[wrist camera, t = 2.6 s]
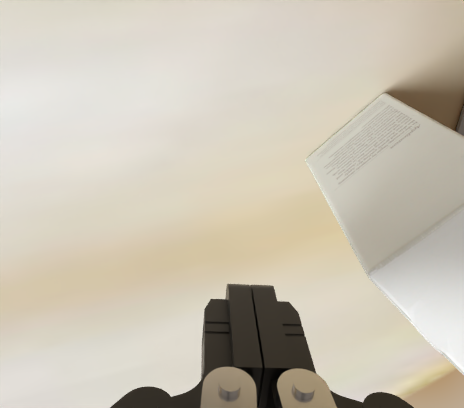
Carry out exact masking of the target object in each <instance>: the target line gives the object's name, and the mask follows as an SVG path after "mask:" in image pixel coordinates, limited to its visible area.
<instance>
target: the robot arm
mask: <svg viewBox="0 0 464 408" xmlns="http://www.w3.org/2000/svg"><path fill="white" fill-rule="evenodd" d="M110 408H414V407H412V406H411V405H410V404H408V403H407V402H405V401H404V400H402V399H401V398H399V397H397V396H395V395H392V394H389V393H384V392H377V393H372V394H370V395H368V396H367V397H366V398H365V400H364V402H363V403H362V402H359V401H356V400H352V399H349V398H346V397H343V396H340V395H338V394H336V393H334V392H332V391H331V390H330V389H329V387H328V385H327V384H326V382H325V381H324V380H323V379H322V378H321V377H320V376H319V375H317V374H316V371H315V368H314V365H313V361H312V358H311V354H310V351H309V348H308V344H307V341H306V337H305V336H304V331H303V327H302V324H301V321H300V317H299V314H298V312H297V311H296V310H295V308H294V307H293V306H292V305H291V304H290V303H289V302H280V301H277V299H276V295H275V290H274V287H273V286H267V285H241V284H227V289H226V299H225V300H224V299H211V300H210V302H209V303H208V305H207V306H206V308H205V311H204V324H203V338H202V373H201V381H200V382H199V384H198V385H197V386H196V387H195V388H193V389H192V390H190V391H188V392H186V393H183V394H180V395H177V396H173V397H171V396H170V395H169V394H168V393H167V392H165V391H164V390H162V389H159V388H156V387H141V388H137V389H134V390H132V391H130V392H129V393H127V394H126V395H125V396H124V397H122V398H121V399H120V400H119V401H118V402H116V403H115V404H114V405H113V406H112V407H110Z"/></svg>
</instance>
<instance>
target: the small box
mask: <svg viewBox="0 0 464 408" xmlns="http://www.w3.org/2000/svg"><path fill="white" fill-rule="evenodd" d="M305 162H306V163H307V165H308V167H309V169H310V171H311V172H312V174H313V176H314V178H315V180H316V182H317V183H318V185H319V187H320V189H321V191H322V193H323V195H324V197H325V199H326V201H327V203H328V204H329V206H330V208H331V210H332V212H333V213H334V215H335V217H336V219H337V221H338V223H339V225H340V226H341V228H342V230H343V232H344V234H345V236H346V237H347V239H348V241H349V243H350V245H351V247H352V249H353V251H354V253H355V254H356V256H357V258H358V260H359V262H360V263H361V265H362V267H363V269H364V271H365V272H366V274H367V276H368V278H369V279H370V280H371V281H372V282H373V283H374V284H375V285H376V287H377V288H378V289H379V290H380V291H381V292H382V293H383V294H384V295H385V296H386V297H387V298H388V299H389V300H390V302H391V303H392V304H393V305H394V306H395V307H396V308H397V309H398V310H399V311H400V312H401V313H402V314H403V315H404V316H405V317H406V318H407V319H408V320H409V322H410V323H411V324H412V325H413V326H414V327H415V328H416V329H417V330H418V331H419V333H420V334H421V335H422V336H423V337H424V338H425V339H426V340H427V341H428V342H429V343H430V344H431V345H432V346H433V347H434V348H435V349H436V350H437V351H439V352H440V353H441V354H442V355H444V356H445V357H446V358H447V359H448V360H449V361H450V362H451V363H452V364H453V365H454V366H455V367H456V368H457V369H458V370H459V371H460V372H461V373H462V374H463V375H464V136H463V135H461V134H459V133H457V132H456V131H454V130H452V129H450V128H448V127H446V126H445V125H443V124H441V123H439V122H437V121H436V120H434V119H432V118H430V117H428V116H426V115H425V114H423V113H421V112H419V111H417V110H415V109H414V108H412V107H410V106H408V105H407V104H405V103H403V102H401V101H400V100H398V99H396V98H394V97H392V96H390V95H389V94H387V93H383V94H381V95H380V96H379V97H378V98H377V99H375V100H374V101H373V102H372V103H371V104H370V105H368V106H367V107H366V108H365V109H364V110H363V111H361V112H360V113H359V114H358V115H357V116H356V117H354V118H353V119H352V120H351V121H350V122H349V123H347V124H346V125H345V126H344V127H343V128H342V129H340V130H339V131H338V132H337V133H336V134H334V135H333V136H332V137H331V138H330V139H328V140H327V141H326V142H325V143H324V144H323V145H321V146H320V147H319V148H318V149H317V150H316V151H315V152H313V153H312V154H311V155H310V156H309V157H307V158H306V160H305Z"/></svg>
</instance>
